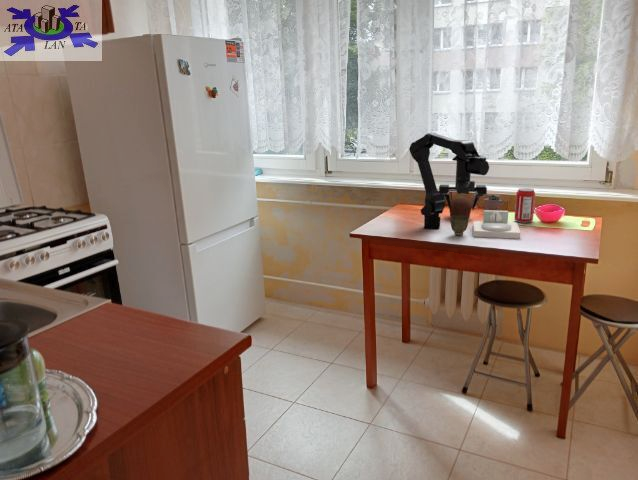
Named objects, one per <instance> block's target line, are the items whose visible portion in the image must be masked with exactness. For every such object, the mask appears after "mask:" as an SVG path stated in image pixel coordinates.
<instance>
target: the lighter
mask: <svg viewBox="0 0 638 480" xmlns="http://www.w3.org/2000/svg"><path fill="white" fill-rule="evenodd" d="M485 195H486V196H485V197H486V198H484V209H483V211H484V210H495V211H502V202H503V200H502V199H500V196H501V195H497V194H495V193H494V194H489V193H487V194H485Z"/></svg>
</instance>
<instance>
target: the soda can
mask: <svg viewBox="0 0 638 480" xmlns="http://www.w3.org/2000/svg"><path fill="white" fill-rule="evenodd" d="M535 202H536V192H535V189H534V188H530V187H520V188H518V190H516V195H515V205H514V221H516V223H520V224H529V223H531V222H533V220H534V215H535V214H534V212H535Z"/></svg>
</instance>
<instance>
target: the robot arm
mask: <svg viewBox="0 0 638 480" xmlns="http://www.w3.org/2000/svg"><path fill="white" fill-rule="evenodd" d="M434 145H436V146H438V147H440V148H444V149H447V150H450V151H451V152H452V153H453V154H454V155H455V156H454V157H453V158H452V159H451V160H452V161H454V162H456V165H455V166H456V169H455V170H456V171H455V186H450V184H439V186H438V188H437V185H436V184H437V183H436V182H435V178H434V174H433V171H432V168H431V165H430V160H429V159H430V158H429V157H430V155H431V151H430V149H431V148H432V147H433V146H434ZM408 150H409V154H410V155H411V157H412V159H413V160H414V161H415V162H416V163H417V165H418V169H419V172H420V176H421V180H422V183H423V186H424V190H425V197H424V205H423V207H422V208H421V209H420V214H421V215H422V216H424V219H423V220H424V221H423V223H424V224H423V229H425V230H426V229H427V230H439V228H440V227H441V216H440V214H443V212H444V209H445V208H446V203H447V206H448V209H449V211H450V208H451V205H450V201H451V198H450V192H456V194H458V195H460V194H465V195H468V194H470V192H471V193H472V192H473V193H474V194H473V200H472V204H473V206H472V207H471V211H474V209H476V208H475V207H476V204H477V203H478V200H479V199H480V197H483V196H484V195H487V194H488V187H487V186H486V185H485V184H476V181H474V180H472V181H471V174H472V175H479V176H486V175H487V174H488V172H489V170H490V165H489V162H488V161H487V157H481V156H480V154H479V152H478V151H477V148H476V147H475V143H474V142H473V141H472V140H467V139H466V140H465V139H464V140H463V139H455V138H451V137H449V136H448V137H447V136H445V135H441V134H438V133H435V132H429V133H426V134H425V135H423V137H420V138H419V139H417V140H415V141H413V142H412V143H411V144H410V146H409V148H408ZM475 184H476V185H475Z"/></svg>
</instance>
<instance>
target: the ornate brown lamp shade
mask: <svg viewBox="0 0 638 480" xmlns="http://www.w3.org/2000/svg"><path fill="white" fill-rule="evenodd" d="M449 217H450V227H451V229H452V231H453V232H454V233H453V234H454V236H457V237H462V236H463V235H464V232H466V231H467V228H468V225H469V220H470V217H469V218H468V217H467V216H465V217H464V215H463V217H462V216H461V215H460V216H459V215H457V217H456V215H455V216H450V215H449Z"/></svg>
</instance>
